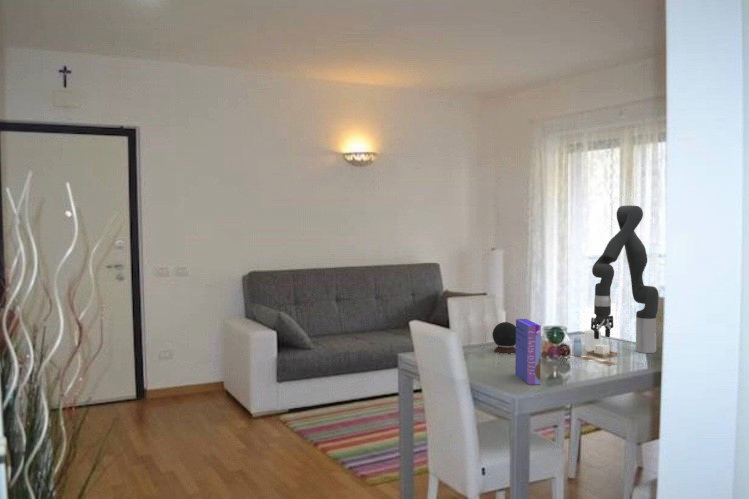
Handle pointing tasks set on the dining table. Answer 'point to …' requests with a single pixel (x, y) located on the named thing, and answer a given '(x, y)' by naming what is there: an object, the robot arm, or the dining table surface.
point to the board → (595, 360)
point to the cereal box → (528, 351)
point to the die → (601, 349)
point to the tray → (611, 354)
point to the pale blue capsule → (577, 347)
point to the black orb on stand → (505, 337)
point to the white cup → (591, 340)
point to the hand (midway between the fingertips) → (602, 338)
